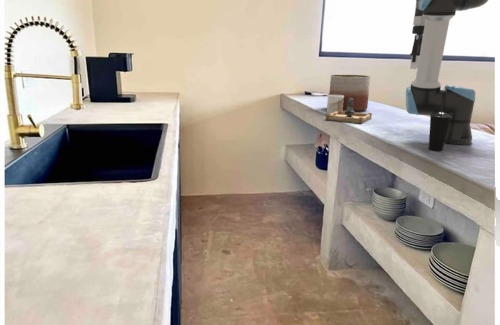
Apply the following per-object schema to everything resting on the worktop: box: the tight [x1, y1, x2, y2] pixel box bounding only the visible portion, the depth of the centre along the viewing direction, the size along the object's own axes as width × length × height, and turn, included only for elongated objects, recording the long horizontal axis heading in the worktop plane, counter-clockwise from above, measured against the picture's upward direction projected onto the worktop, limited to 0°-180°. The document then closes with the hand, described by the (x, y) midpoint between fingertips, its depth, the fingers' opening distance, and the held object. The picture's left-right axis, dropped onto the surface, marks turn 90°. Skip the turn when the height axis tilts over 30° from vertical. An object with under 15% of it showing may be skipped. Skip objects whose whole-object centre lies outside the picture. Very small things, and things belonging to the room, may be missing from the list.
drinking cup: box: [428, 98, 452, 152], centre depth 142 cm, size 8×8×20 cm
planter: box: [328, 74, 371, 113], centre depth 244 cm, size 25×25×22 cm
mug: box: [326, 94, 344, 114], centre depth 229 cm, size 10×12×11 cm
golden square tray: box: [325, 110, 373, 125], centre depth 210 cm, size 20×20×3 cm
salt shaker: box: [344, 97, 356, 118], centre depth 208 cm, size 6×6×12 cm
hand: (415, 68), depth 194 cm, fingers open, 13 cm apart
